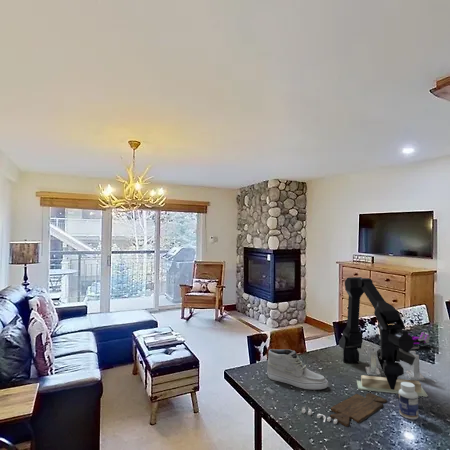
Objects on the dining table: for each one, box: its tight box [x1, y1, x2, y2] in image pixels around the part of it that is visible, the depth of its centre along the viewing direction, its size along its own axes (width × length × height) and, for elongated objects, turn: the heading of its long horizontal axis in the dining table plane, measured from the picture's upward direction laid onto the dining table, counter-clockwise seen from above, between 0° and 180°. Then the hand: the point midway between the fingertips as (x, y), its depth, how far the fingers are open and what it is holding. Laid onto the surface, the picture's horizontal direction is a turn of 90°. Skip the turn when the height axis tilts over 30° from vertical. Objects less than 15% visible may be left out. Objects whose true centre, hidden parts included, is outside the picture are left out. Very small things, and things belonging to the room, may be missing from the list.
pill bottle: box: [398, 382, 419, 420], centre depth 105 cm, size 5×5×10 cm
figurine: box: [375, 331, 431, 350], centre depth 172 cm, size 24×7×29 cm
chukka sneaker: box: [266, 348, 329, 390], centre depth 131 cm, size 9×25×12 cm, turn 60°
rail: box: [360, 374, 422, 393], centre depth 123 cm, size 20×3×3 cm, turn 73°
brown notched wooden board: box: [329, 392, 388, 427], centre depth 109 cm, size 26×2×10 cm
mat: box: [356, 380, 428, 398], centre depth 123 cm, size 23×7×1 cm, turn 73°
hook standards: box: [365, 347, 426, 382], centre depth 137 cm, size 21×7×10 cm, turn 73°
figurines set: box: [301, 405, 339, 425], centre depth 104 cm, size 12×3×3 cm, turn 52°
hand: (390, 384), depth 123 cm, fingers open, 9 cm apart
